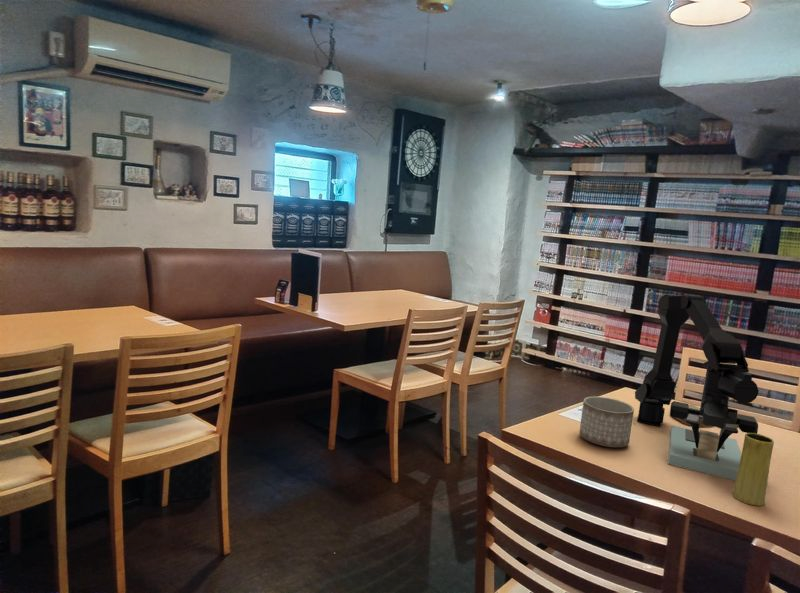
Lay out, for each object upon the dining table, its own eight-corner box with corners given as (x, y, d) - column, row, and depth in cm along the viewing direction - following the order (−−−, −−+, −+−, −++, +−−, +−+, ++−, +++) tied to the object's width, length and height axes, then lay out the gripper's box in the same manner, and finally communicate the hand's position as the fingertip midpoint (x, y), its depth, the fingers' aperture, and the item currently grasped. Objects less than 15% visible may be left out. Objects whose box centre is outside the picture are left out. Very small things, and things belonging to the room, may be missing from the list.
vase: (765, 509, 115) (777, 445, 112) (731, 499, 118) (742, 437, 116) (763, 498, 120) (775, 437, 118) (731, 489, 123) (742, 429, 121)
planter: (576, 429, 153) (581, 393, 151) (623, 436, 150) (628, 400, 149) (581, 446, 140) (587, 408, 139) (633, 454, 138) (639, 415, 137)
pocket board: (668, 463, 134) (670, 453, 133) (670, 433, 155) (671, 424, 155) (743, 482, 127) (745, 471, 126) (734, 448, 148) (736, 438, 147)
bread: (687, 428, 161) (690, 412, 160) (663, 414, 172) (666, 399, 172) (720, 429, 163) (723, 413, 162) (695, 415, 174) (697, 400, 173)
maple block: (695, 464, 135) (700, 434, 133) (695, 459, 138) (700, 429, 137) (713, 469, 133) (719, 438, 132) (712, 463, 136) (718, 433, 135)
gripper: (674, 389, 130) (664, 450, 132) (766, 407, 121) (754, 472, 124) (674, 379, 140) (665, 436, 142) (760, 394, 131) (749, 455, 133)
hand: (706, 449), depth 135 cm, fingers closed on maple block, 4 cm apart
